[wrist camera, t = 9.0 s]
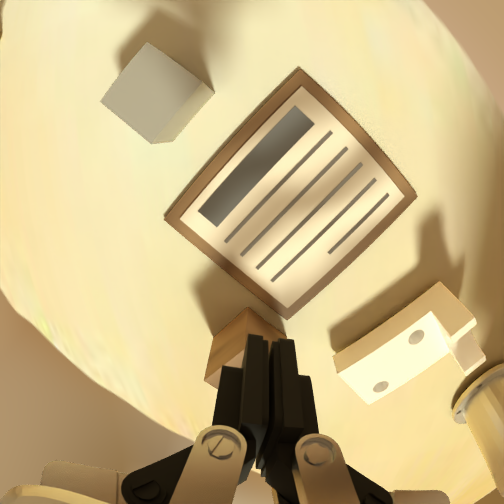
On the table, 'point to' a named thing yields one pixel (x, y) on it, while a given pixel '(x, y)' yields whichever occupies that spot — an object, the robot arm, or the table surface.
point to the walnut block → (237, 343)
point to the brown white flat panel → (292, 198)
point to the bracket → (410, 345)
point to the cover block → (156, 95)
